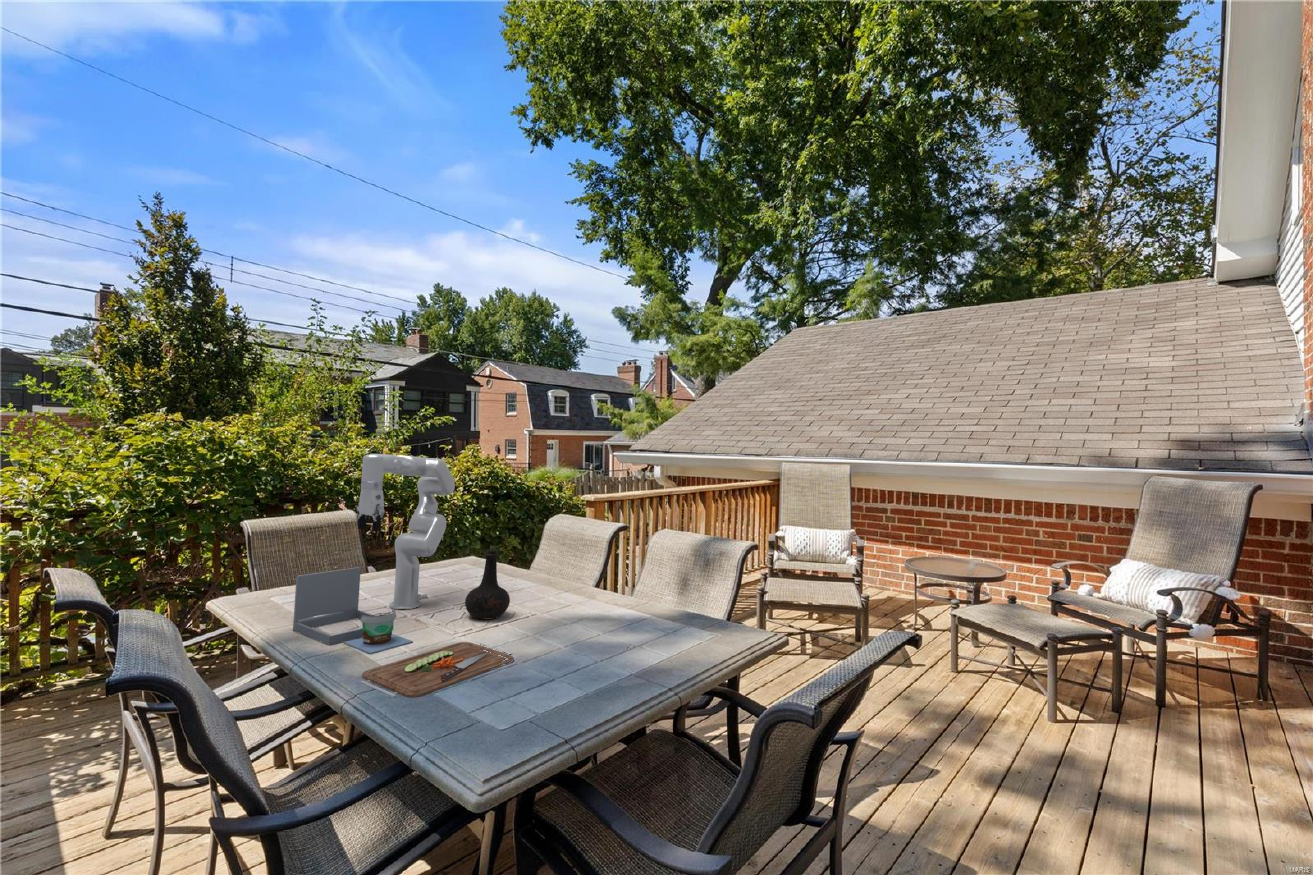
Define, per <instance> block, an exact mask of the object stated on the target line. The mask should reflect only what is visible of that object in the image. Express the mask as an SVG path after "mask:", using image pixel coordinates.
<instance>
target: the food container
mask: <svg viewBox="0 0 1313 875" xmlns="http://www.w3.org/2000/svg"><path fill="white" fill-rule="evenodd" d="M395 619H397V613H396V609H392V610H391V611H389V612H379V613H376V614H372V616H364V615H362V617H361V620H360V622H361V624H362V628H363V637H362V638H363V644H368V645H378V644H384V643H387V642H389V641H390V640H391V635H392V634H393V630H394V624H393V622H395ZM392 629H393V630H392Z"/></svg>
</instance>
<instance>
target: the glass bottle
mask: <svg viewBox="0 0 1313 875" xmlns="http://www.w3.org/2000/svg"><path fill="white" fill-rule="evenodd" d="M484 555H485V556H486V557H485V564H484V570H483V575H482V579H481V581H480V583H479V585H478V586H477V587H475V588H472V589H471V590H470V591H469V592H468V594H467V595H466V597H465V601H464V605H465V609H466V611H467V613H468V614H469V615H470V616H472V617H473V618H476V619H479V618H495V619H497V618H496V617H498V618H500V617H501V616H502V615H503V614H504V613H505V612H506V611H507V610H508V608H509V607H510V603H511V599H510V595H509V592H508V591H507V590H506V589H505V588H503V587H501V586H500V585H499V584H498V575H497V573H498V570H497V569H498V568H497V566H498V564H497V560H498V558H497V556H500V553H498V549H493V548H492V549H486V552H485V553H484ZM499 616H500V617H499Z"/></svg>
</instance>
